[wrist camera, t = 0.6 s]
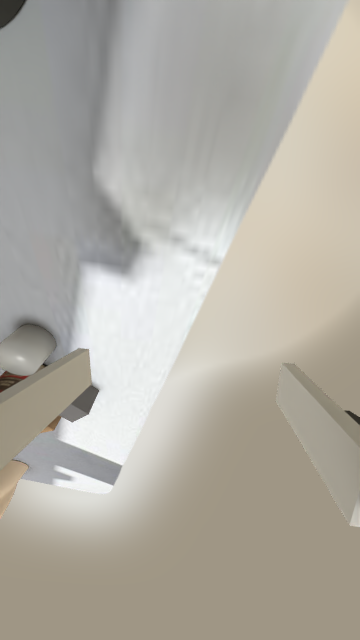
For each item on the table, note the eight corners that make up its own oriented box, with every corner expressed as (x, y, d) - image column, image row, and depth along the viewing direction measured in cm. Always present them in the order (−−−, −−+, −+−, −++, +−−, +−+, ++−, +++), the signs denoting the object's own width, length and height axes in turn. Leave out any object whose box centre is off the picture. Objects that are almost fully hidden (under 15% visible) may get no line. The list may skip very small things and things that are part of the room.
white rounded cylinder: (9, 326, 30) (-19, 347, 26) (44, 322, 29) (21, 344, 25) (31, 353, 33) (8, 376, 29) (62, 351, 33) (44, 374, 29)
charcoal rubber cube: (63, 386, 38) (48, 409, 34) (78, 376, 36) (64, 400, 32) (84, 398, 40) (72, 422, 36) (99, 390, 38) (88, 414, 34)
